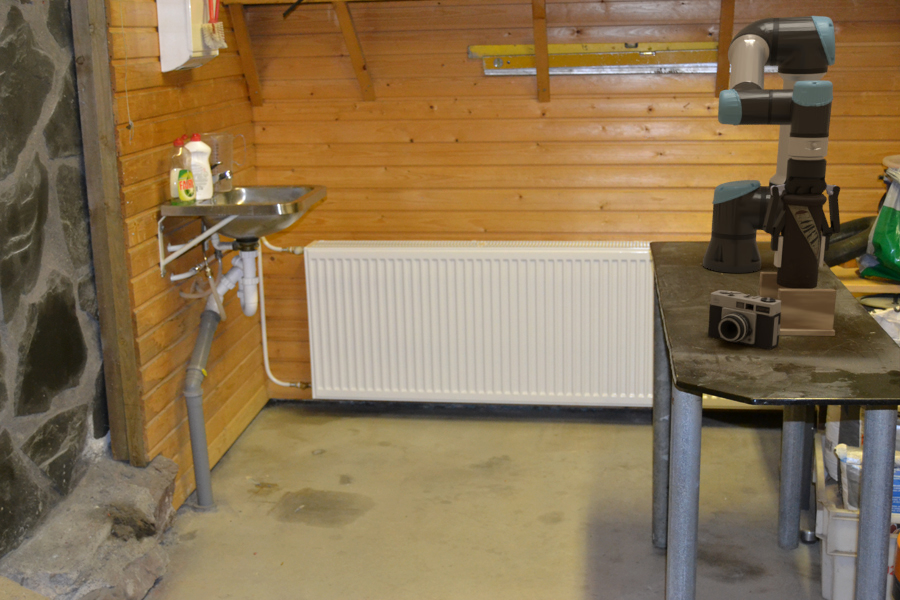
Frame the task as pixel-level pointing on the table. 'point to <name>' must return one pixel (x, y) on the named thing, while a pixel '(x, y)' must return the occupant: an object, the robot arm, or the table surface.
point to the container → (801, 240)
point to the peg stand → (801, 307)
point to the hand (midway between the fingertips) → (798, 265)
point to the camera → (744, 319)
